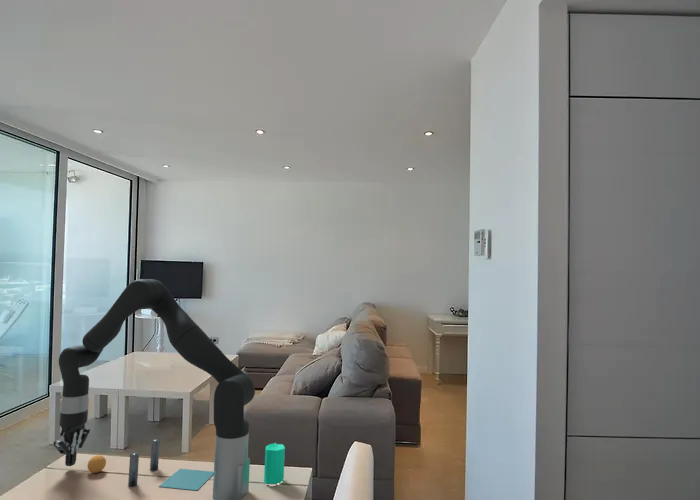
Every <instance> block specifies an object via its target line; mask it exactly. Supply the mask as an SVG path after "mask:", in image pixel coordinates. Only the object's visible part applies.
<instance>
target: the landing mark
mask: <svg viewBox="0 0 700 500" xmlns="http://www.w3.org/2000/svg"><path fill="white" fill-rule="evenodd" d="M213 476H214V471H209V470H198V469H190V468H189V469H188V468H178V470H176V471H175V472H174V473H173V474H172V475H171V476H169V477H168V478H167V479H165V480H164V481H163V482H162V483H161V484H160V485H158V488H167V489H177V490H184V491H185V490H186V491H194V492H195V491H197V492H198V491H199V490H200V489H201V488H202V487H203V486H204V485H205V484H206V483H207V482H208V481H209V480H210V479H211V478H212V477H213Z"/></svg>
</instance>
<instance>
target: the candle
mask: <svg viewBox="0 0 700 500" xmlns="http://www.w3.org/2000/svg"><path fill="white" fill-rule="evenodd" d="M285 451H286V447H285V445H284V444H282V443H277V442H276V441H275V443H270V444H267V445H266V446H265V450H264V455H265V456H264V470H263V471H264V473H263V474H264V475H263V477H264V478H263V483H264V482H265V483H267V484H277V483H280V482H281V481H283V479H284V480H285V476H284V475H285V455H286V452H285ZM283 482H284V481H283Z"/></svg>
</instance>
